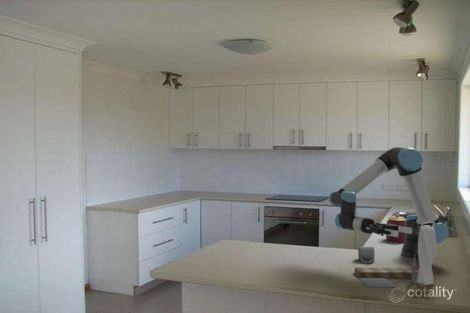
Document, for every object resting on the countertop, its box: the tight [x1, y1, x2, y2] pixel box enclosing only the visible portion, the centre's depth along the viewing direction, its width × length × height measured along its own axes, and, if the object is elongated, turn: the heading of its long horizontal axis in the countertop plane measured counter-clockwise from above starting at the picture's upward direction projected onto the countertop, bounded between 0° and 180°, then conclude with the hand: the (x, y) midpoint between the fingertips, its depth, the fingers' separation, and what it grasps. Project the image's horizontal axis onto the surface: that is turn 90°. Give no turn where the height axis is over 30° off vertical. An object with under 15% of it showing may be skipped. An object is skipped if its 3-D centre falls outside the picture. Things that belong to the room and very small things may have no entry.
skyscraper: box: [410, 222, 437, 287], centre depth 205 cm, size 8×8×28 cm
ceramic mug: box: [357, 246, 375, 264], centre depth 242 cm, size 11×8×8 cm
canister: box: [385, 213, 406, 243], centre depth 296 cm, size 13×13×18 cm
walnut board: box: [354, 267, 419, 279], centre depth 217 cm, size 32×8×3 cm, turn 94°
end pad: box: [358, 277, 396, 288], centre depth 204 cm, size 12×12×1 cm
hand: (404, 232), depth 212 cm, fingers open, 13 cm apart
